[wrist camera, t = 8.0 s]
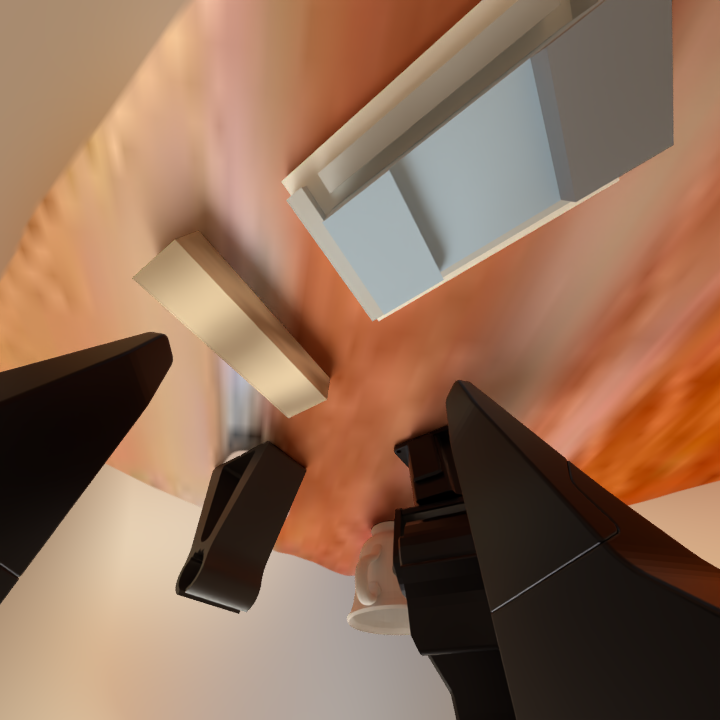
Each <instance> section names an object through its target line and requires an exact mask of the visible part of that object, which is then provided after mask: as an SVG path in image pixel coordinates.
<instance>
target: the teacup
mask: <svg viewBox="0 0 720 720" xmlns="http://www.w3.org/2000/svg"><path fill="white" fill-rule="evenodd" d="M371 533H372V537H371V538H369V539H368V540H367V541H366V542H365V543H364V545H363V547H362V549H361V552H360V557H359V562H358V564H357V566H356V571H355V588H356V590H355V597H354V603H353V607H352V610H351V612H350V614H349V615H348V617H347V622H348V623H349V625H350V626H351V627H353V628H355V629H357V630H360V631H364V632H368V633H374V634H383V635H411V633H410V626H409V616H408V608H407V600H406V598H405V597H404V596H403V594H402V592H401V590H400V587H399V584H398V580H397V577H396V576H395V575H394V574H393V570H392V565H393V539H394V521H387V522H382V523H379V524H377V525H375V526H374V527H373V528H372V530H371Z"/></svg>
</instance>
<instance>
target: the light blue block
mask: <svg viewBox="0 0 720 720" xmlns="http://www.w3.org/2000/svg"><path fill="white" fill-rule="evenodd" d="M673 145H674V142H673V56H672V0H600V1H598V2H597V3H596V4H594V5H593V6H591V7H590V8H589V9H587V10H586V11H584V12H583V13H582V14H580V15H579V16H577V17H576V18H575V19H573V20H572V21H570V22H569V23H568V24H566V25H565V26H563V27H562V28H561V29H559V30H558V31H557V32H556V33H554V34H553V35H552V36H550V37H549V38H548V39H547V40H545V41H544V42H543V43H542V44H540V45H539V46H538V47H537V48H535V49H534V50H533V51H531V52H530V53H529V54H528V55H526V56H525V57H524V58H523V59H521V60H520V61H519V62H518V63H516V64H515V65H514V66H513V67H511V68H510V69H509V70H507V71H506V72H505V73H504V74H502V75H501V76H500V77H499V78H497V79H496V80H495V81H494V82H492V83H491V84H490V85H488V86H487V87H486V88H485V89H483V90H482V91H481V92H480V93H478V94H477V95H476V96H475V97H473V98H472V99H471V100H470V101H468V102H467V103H466V104H464V105H463V106H462V107H461V108H459V109H458V110H457V111H456V112H454V113H453V114H452V115H451V116H449V117H448V118H447V119H445V120H444V121H443V122H442V123H440V124H439V125H438V126H437V127H435V128H434V129H433V130H432V131H430V132H429V133H428V134H427V135H425V136H424V137H423V138H421V139H420V140H419V141H418V142H416V143H415V144H414V145H413V146H411V147H410V148H409V149H408V150H406V151H405V152H404V153H403V154H401V155H400V156H399V157H397V158H396V159H395V160H394V161H392V162H391V163H390V164H389V165H387V166H386V167H385V168H384V169H382V170H381V171H380V172H378V173H377V174H376V175H375V176H373V177H372V178H371V179H370V180H368V181H367V182H366V183H365V184H363V185H362V186H361V187H360V188H358V189H357V190H356V191H354V192H353V193H352V194H351V195H349V196H348V197H347V198H346V199H344V200H343V201H342V202H341V203H339V204H338V205H337V206H335V207H334V208H333V209H332V210H331V212H330V213H329V214H328V216H327V217H326V218H325V220H324V221H323V222H322V223H323V225H324V226H325V227H326V229H327V230H328V232H329V233H330V235H331V236H332V238H333V239H334V241H335V242H336V244H337V245H338V247H339V248H340V250H341V251H342V253H343V254H344V256H345V257H346V259H347V260H348V262H349V263H350V265H351V266H352V268H353V269H354V271H355V272H356V273H357V275H358V276H359V278H360V279H361V281H362V282H363V284H364V285H365V287H366V288H367V290H368V291H369V293H370V294H371V296H372V297H373V299H374V300H375V302H376V303H377V305H378V306H379V308H380V309H381V311H382V312H383V314H384V315H385V314H386V313H388V312H390V311H392V310H393V309H395V308H397V307H398V306H400V305H402V304H404V303H405V302H407V301H409V300H410V299H412V298H414V297H415V296H417V295H419V294H421V293H422V292H424V291H426V290H427V289H429V288H431V287H432V286H434V285H436V284H438V283H439V282H441V281H443V280H444V279H443V277H442V275H441V273H440V272H442V271H443V270H445V269H447V268H448V267H450V266H452V265H453V264H455V263H457V262H458V261H460V260H462V259H463V258H465V257H467V256H468V255H470V254H472V253H473V252H475V251H477V250H478V249H480V248H482V247H483V246H485V245H487V244H488V243H490V242H492V241H493V240H495V239H497V238H498V237H500V236H502V235H503V234H505V233H507V232H508V231H510V230H512V229H513V228H515V227H517V226H518V225H520V224H522V223H523V222H525V221H527V220H528V219H530V218H532V217H533V216H535V215H537V214H538V213H540V212H542V211H543V210H545V209H547V208H548V207H550V206H552V205H553V204H555V203H557V202H558V201H560V200H564V201H571V202H577V201H579V200H581V199H582V198H584V197H586V196H587V195H589V194H591V193H593V192H594V191H596V190H598V189H599V188H601V187H603V186H604V185H606V184H608V183H610V182H611V181H613V180H615V179H616V178H618V177H620V176H622V175H623V174H625V173H627V172H628V171H630V170H632V169H633V168H635V167H637V166H639V165H640V164H642V163H644V162H645V161H647V160H649V159H650V158H652V157H654V156H656V155H657V154H659V153H661V152H662V151H664V150H666V149H668V148H669V147H671V146H673Z"/></svg>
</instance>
